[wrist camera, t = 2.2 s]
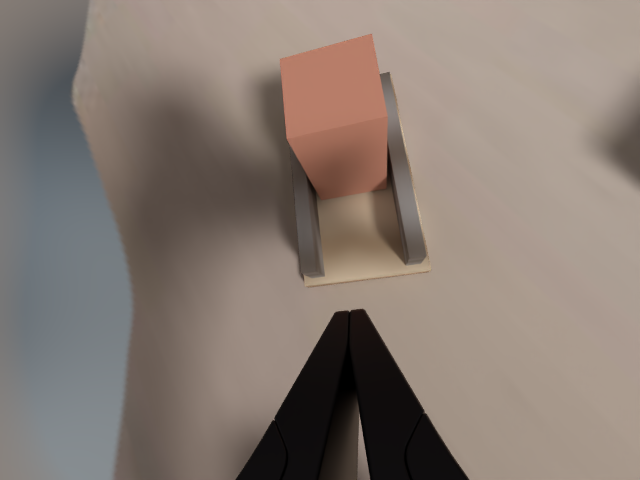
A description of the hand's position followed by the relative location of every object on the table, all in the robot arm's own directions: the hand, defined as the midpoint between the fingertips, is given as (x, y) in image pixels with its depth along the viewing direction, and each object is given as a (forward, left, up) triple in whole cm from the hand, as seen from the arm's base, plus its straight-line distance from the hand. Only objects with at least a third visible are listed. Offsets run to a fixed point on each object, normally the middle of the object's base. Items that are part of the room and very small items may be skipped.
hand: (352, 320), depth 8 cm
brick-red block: (+8, +9, -12) cm, 17 cm away
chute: (+7, +8, -14) cm, 17 cm away
